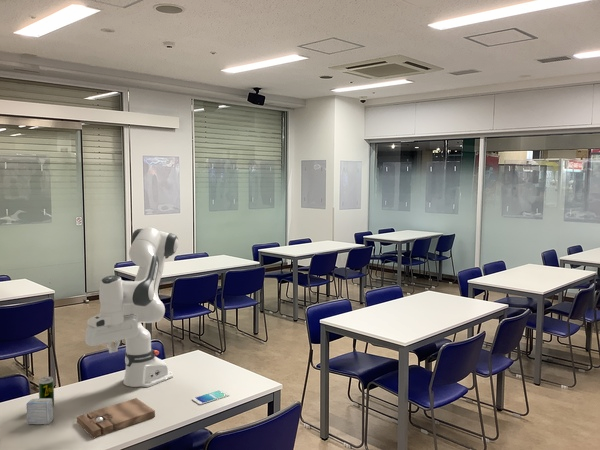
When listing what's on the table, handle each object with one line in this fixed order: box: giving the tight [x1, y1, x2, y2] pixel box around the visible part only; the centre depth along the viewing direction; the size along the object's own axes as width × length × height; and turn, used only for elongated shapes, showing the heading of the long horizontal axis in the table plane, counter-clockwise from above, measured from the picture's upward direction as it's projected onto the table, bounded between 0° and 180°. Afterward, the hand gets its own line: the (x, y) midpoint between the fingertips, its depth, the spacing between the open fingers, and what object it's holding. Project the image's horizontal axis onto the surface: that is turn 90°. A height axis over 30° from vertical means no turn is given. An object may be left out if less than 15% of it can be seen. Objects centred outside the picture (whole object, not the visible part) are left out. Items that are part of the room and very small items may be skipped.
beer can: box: [38, 376, 55, 407], centre depth 204 cm, size 5×5×12 cm
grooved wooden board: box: [76, 397, 156, 439], centre depth 194 cm, size 24×16×2 cm, turn 134°
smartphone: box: [191, 389, 230, 406], centre depth 214 cm, size 8×1×15 cm
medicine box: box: [26, 398, 54, 425], centre depth 191 cm, size 8×4×9 cm, turn 92°
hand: (113, 352), depth 197 cm, fingers closed
